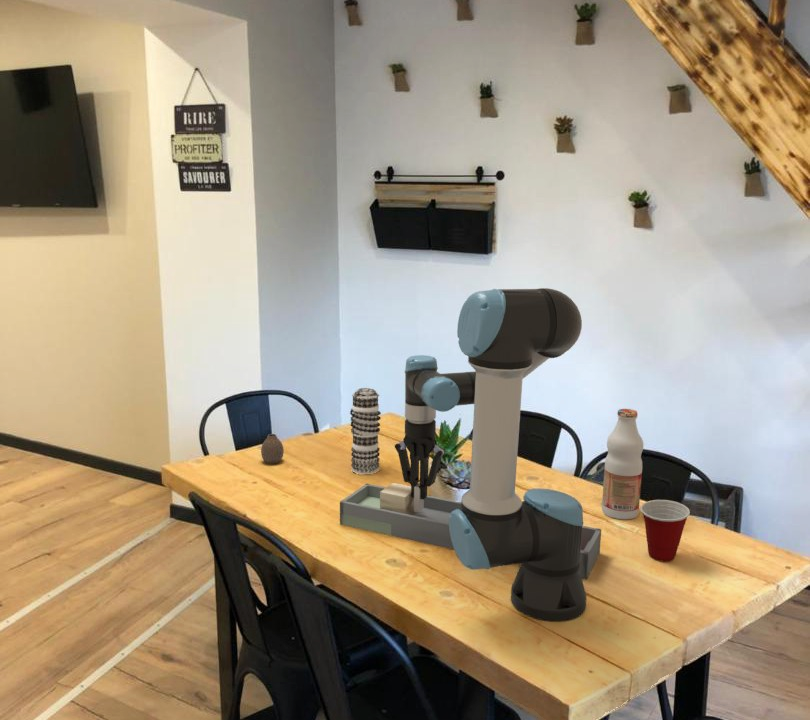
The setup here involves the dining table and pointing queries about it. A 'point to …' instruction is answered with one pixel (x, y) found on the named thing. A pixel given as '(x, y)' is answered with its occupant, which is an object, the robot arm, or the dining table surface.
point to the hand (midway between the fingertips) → (418, 510)
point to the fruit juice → (623, 468)
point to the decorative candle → (365, 431)
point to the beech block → (397, 499)
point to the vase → (272, 449)
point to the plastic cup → (664, 527)
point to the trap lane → (431, 523)
